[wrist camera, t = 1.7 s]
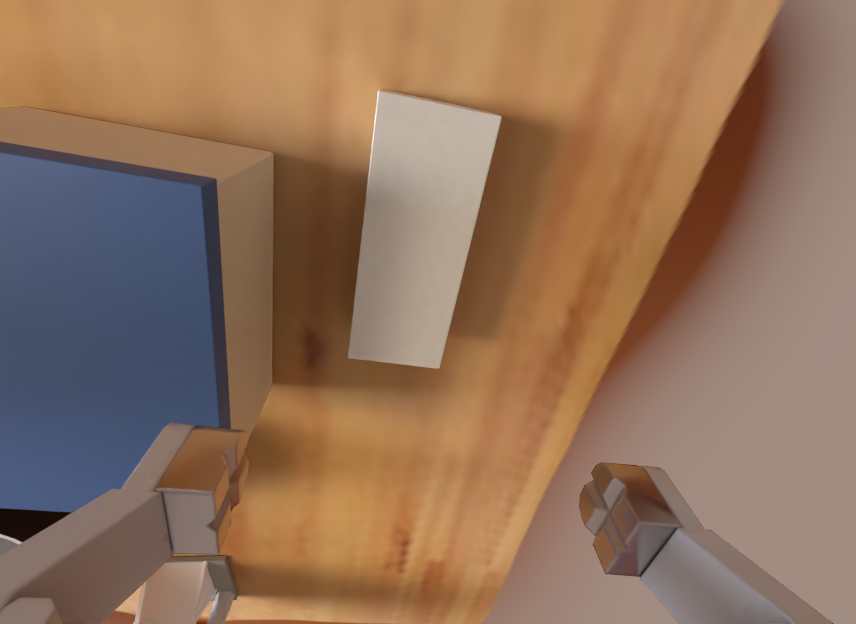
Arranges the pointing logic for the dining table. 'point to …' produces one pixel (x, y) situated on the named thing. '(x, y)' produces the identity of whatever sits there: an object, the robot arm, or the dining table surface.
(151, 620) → the skyscraper
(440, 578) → the dining table surface
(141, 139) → the container
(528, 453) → the dining table surface
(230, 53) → the dining table surface
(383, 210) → the case
